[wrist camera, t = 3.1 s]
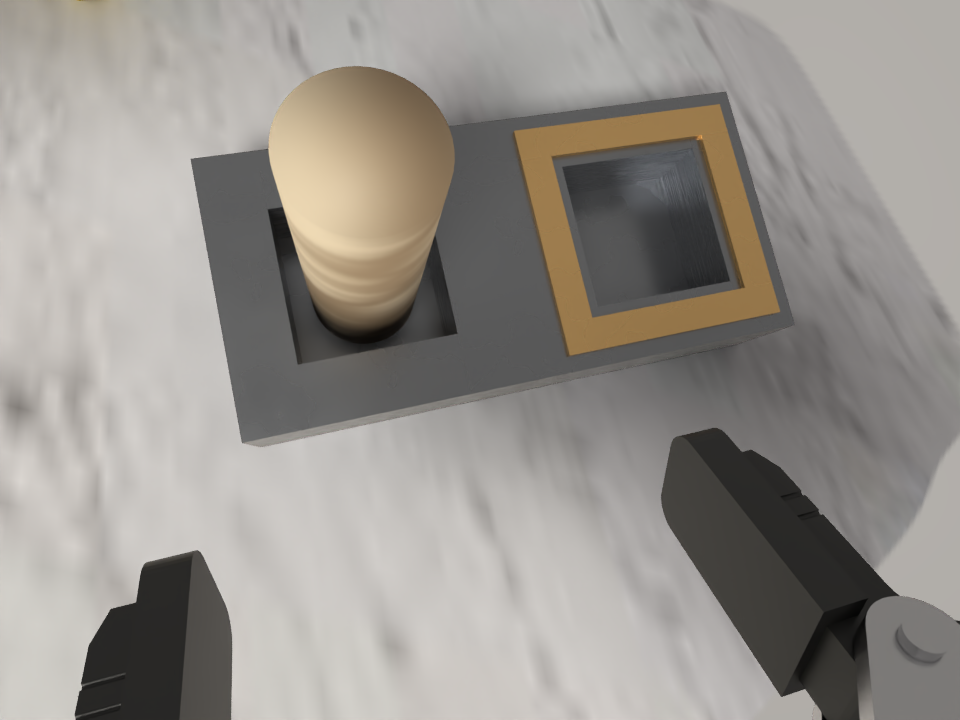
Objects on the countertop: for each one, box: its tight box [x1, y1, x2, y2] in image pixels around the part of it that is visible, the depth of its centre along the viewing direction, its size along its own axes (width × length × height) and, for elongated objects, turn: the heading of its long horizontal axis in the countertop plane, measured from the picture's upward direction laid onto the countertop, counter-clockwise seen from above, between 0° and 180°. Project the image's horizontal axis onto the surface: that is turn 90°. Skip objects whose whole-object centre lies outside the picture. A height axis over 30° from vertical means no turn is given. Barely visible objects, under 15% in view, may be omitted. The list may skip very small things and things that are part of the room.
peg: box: [269, 66, 455, 344], centre depth 20 cm, size 4×4×12 cm
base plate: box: [191, 92, 795, 447], centre depth 26 cm, size 21×10×4 cm, turn 103°
